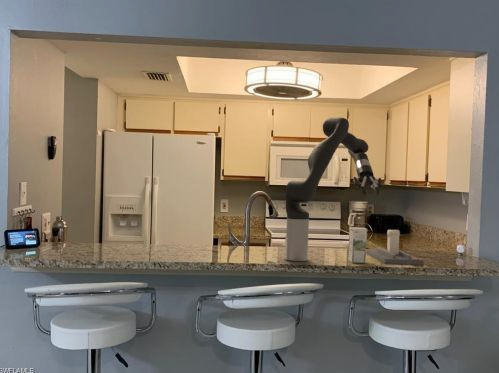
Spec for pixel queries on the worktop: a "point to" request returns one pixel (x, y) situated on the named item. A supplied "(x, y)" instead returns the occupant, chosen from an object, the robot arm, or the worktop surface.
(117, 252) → the worktop surface
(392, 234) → the handle
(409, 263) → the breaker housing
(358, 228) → the syrup box
